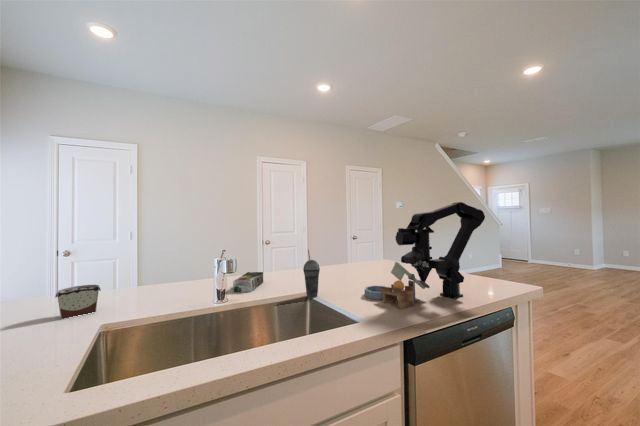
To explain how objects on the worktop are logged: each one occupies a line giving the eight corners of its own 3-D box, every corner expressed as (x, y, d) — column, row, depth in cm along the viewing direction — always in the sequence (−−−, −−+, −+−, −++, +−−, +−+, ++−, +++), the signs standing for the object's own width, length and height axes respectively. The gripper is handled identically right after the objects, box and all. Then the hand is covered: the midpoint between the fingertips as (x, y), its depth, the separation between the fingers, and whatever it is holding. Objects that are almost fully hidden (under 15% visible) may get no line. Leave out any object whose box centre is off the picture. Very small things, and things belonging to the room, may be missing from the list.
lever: (416, 296, 108) (421, 284, 109) (424, 298, 104) (429, 286, 106) (387, 271, 101) (393, 259, 103) (394, 273, 98) (401, 260, 99)
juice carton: (252, 293, 122) (252, 279, 122) (231, 293, 122) (231, 280, 122) (264, 282, 142) (263, 271, 142) (246, 283, 142) (246, 271, 142)
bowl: (379, 291, 119) (379, 284, 119) (396, 297, 109) (396, 289, 109) (360, 294, 114) (360, 287, 114) (376, 301, 104) (376, 293, 104)
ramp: (392, 298, 108) (392, 280, 108) (414, 305, 98) (413, 286, 98) (380, 300, 105) (379, 282, 105) (400, 308, 95) (400, 289, 95)
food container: (99, 308, 105) (99, 282, 105) (100, 311, 100) (100, 285, 100) (55, 316, 96) (55, 289, 96) (55, 321, 91) (54, 292, 92)
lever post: (412, 298, 107) (411, 279, 107) (419, 301, 103) (419, 281, 103) (404, 300, 105) (404, 280, 105) (412, 303, 101) (411, 282, 101)
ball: (404, 292, 101) (397, 285, 104) (407, 284, 99) (400, 277, 102) (396, 294, 99) (389, 287, 102) (400, 286, 97) (393, 279, 100)
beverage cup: (318, 299, 109) (317, 250, 110) (301, 298, 111) (300, 250, 111) (322, 294, 116) (320, 248, 117) (306, 293, 118) (305, 248, 118)
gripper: (390, 243, 112) (392, 280, 112) (426, 247, 95) (428, 291, 95) (410, 242, 117) (411, 277, 117) (447, 245, 100) (448, 286, 100)
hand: (423, 282), depth 107 cm, fingers closed, pressing on lever
